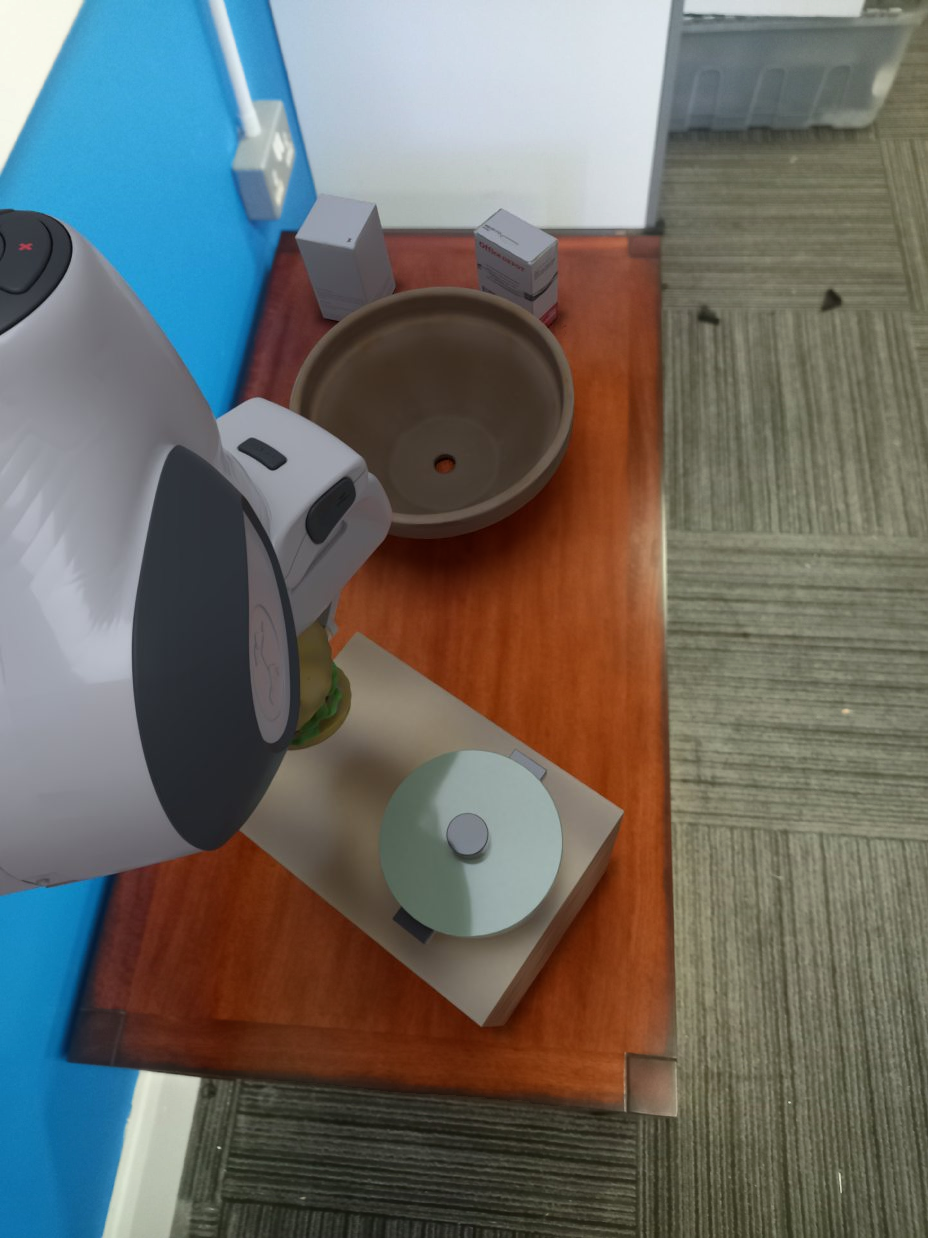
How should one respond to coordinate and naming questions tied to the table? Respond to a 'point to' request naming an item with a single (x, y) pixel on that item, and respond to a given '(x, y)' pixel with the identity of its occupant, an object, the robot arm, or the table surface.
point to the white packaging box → (345, 255)
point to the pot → (470, 845)
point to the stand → (354, 807)
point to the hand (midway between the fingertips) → (275, 687)
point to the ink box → (518, 264)
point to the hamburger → (319, 690)
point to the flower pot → (444, 404)
